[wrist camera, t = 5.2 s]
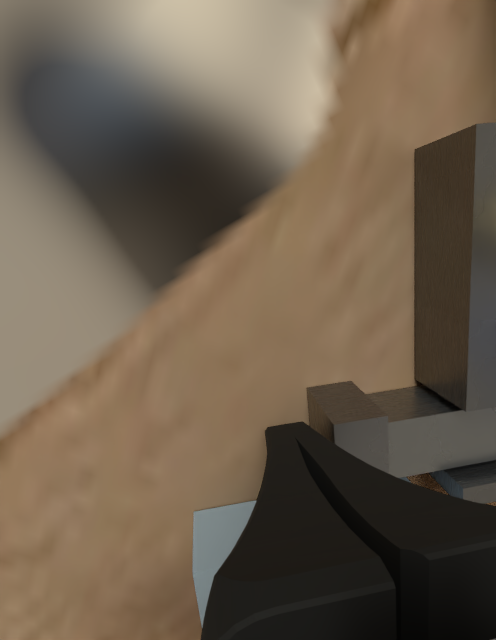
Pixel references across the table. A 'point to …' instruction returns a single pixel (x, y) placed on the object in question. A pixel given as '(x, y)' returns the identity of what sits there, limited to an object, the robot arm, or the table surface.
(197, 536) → the tray
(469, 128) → the socket block
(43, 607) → the table surface
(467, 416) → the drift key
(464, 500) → the robot arm
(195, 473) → the table surface
